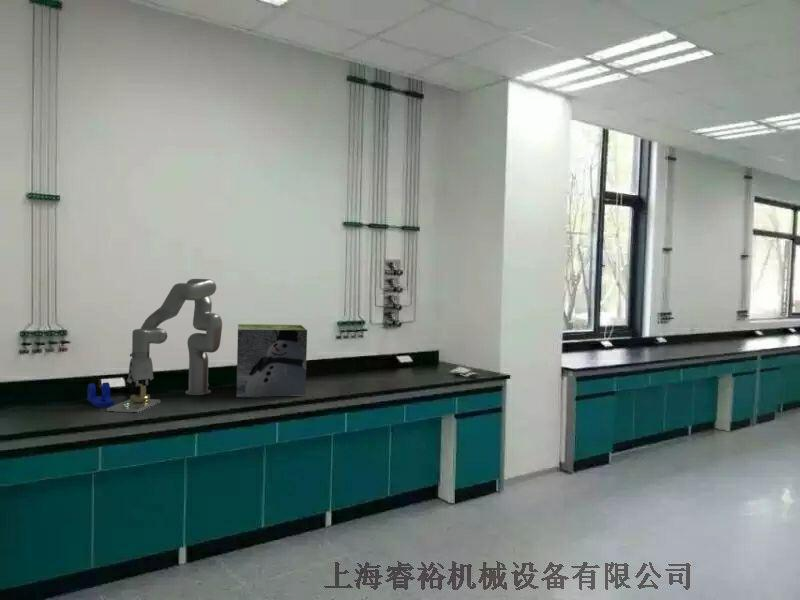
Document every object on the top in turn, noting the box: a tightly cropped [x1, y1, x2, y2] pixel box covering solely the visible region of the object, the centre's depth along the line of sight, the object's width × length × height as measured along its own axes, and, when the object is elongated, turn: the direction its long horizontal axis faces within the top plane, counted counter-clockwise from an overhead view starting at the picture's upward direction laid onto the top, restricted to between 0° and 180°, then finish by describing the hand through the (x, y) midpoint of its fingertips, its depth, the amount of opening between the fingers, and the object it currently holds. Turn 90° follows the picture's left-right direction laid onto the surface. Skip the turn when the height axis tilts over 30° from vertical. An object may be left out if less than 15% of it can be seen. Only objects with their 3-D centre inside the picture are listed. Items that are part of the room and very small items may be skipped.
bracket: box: [87, 382, 115, 408], centre depth 280 cm, size 18×8×9 cm, turn 40°
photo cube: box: [236, 323, 308, 398], centre depth 323 cm, size 35×35×35 cm
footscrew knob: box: [130, 383, 151, 403], centre depth 279 cm, size 10×8×8 cm
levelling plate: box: [106, 398, 161, 413], centre depth 274 cm, size 22×14×3 cm, turn 177°
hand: (140, 393), depth 279 cm, fingers closed on footscrew knob, 3 cm apart
